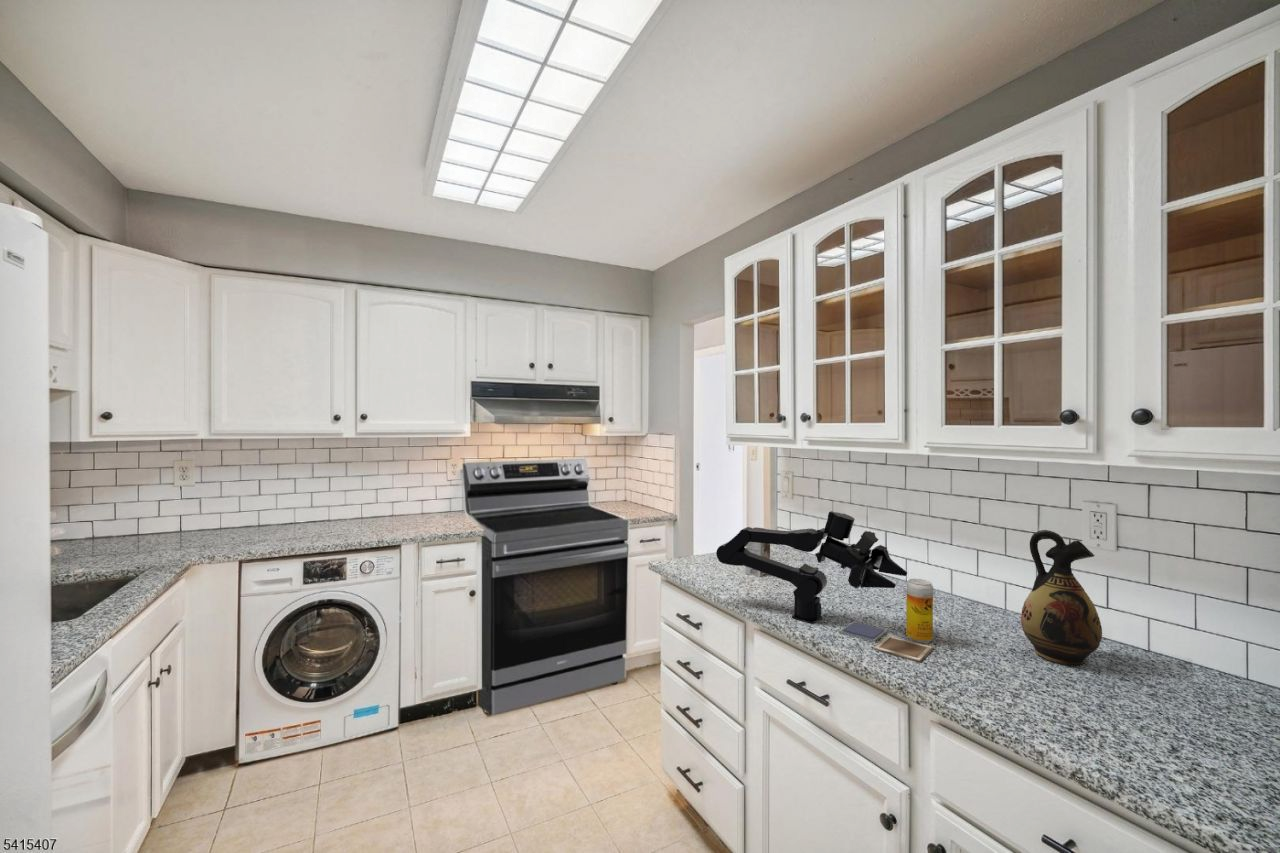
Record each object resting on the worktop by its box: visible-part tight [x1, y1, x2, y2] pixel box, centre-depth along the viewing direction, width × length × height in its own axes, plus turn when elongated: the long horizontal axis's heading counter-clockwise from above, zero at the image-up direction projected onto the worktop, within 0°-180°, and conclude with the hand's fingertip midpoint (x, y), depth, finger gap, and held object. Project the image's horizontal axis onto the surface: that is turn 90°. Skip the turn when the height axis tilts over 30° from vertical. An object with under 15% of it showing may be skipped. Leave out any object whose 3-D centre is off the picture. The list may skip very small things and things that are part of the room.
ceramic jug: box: [1012, 529, 1103, 667], centre depth 131 cm, size 17×15×30 cm
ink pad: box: [839, 621, 888, 643], centre depth 145 cm, size 9×9×1 cm
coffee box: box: [744, 526, 771, 577], centre depth 203 cm, size 9×6×16 cm
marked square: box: [872, 635, 935, 664], centre depth 135 cm, size 11×11×1 cm
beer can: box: [905, 578, 934, 644], centre depth 141 cm, size 6×6×15 cm
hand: (901, 580), depth 141 cm, fingers open, 9 cm apart
